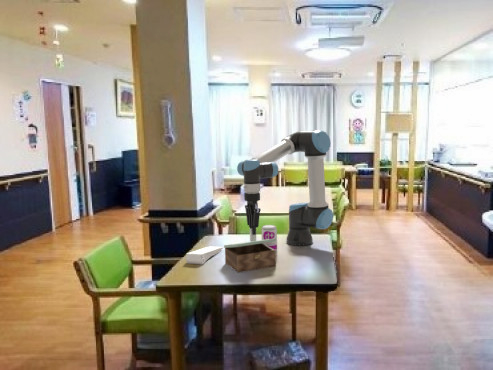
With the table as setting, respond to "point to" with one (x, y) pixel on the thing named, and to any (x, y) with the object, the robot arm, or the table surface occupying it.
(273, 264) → the walnut box
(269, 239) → the lid
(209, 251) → the white rectangular bar
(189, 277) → the table surface
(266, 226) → the supplement can
